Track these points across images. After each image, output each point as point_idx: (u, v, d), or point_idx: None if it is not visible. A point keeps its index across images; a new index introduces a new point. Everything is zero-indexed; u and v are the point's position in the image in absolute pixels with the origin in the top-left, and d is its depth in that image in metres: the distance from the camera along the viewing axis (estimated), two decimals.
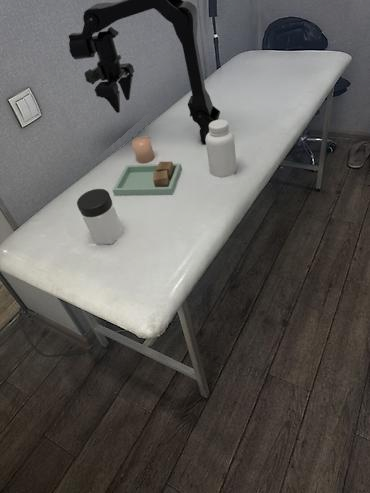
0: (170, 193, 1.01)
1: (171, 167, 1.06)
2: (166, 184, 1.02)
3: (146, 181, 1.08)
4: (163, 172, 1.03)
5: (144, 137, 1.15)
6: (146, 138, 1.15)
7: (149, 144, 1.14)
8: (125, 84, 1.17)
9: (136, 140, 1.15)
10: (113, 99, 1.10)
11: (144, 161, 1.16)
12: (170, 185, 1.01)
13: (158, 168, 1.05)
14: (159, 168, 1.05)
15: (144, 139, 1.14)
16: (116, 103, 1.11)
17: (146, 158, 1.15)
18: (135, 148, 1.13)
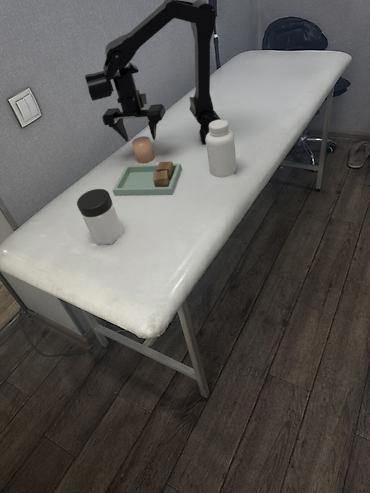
0: (170, 193, 1.01)
1: (171, 167, 1.06)
2: (166, 184, 1.02)
3: (146, 181, 1.08)
4: (163, 172, 1.03)
5: (144, 137, 1.15)
6: (146, 138, 1.15)
7: (149, 144, 1.14)
8: None
9: (136, 140, 1.15)
10: None
11: (144, 161, 1.16)
12: (170, 185, 1.01)
13: (158, 168, 1.05)
14: (159, 168, 1.05)
15: (144, 139, 1.14)
16: None
17: (146, 158, 1.15)
18: (135, 148, 1.13)
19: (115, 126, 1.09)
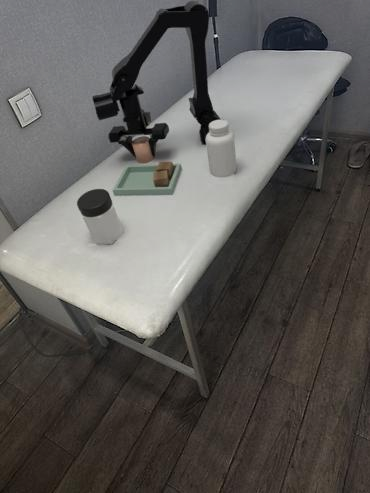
0: (170, 193, 1.01)
1: (171, 167, 1.06)
2: (166, 184, 1.02)
3: (146, 181, 1.08)
4: (163, 172, 1.03)
5: (144, 137, 1.15)
6: (146, 138, 1.15)
7: None
8: None
9: (136, 140, 1.15)
10: None
11: (144, 161, 1.16)
12: (170, 185, 1.01)
13: (158, 168, 1.05)
14: (159, 168, 1.05)
15: (144, 139, 1.14)
16: None
17: (146, 158, 1.15)
18: (135, 148, 1.13)
19: (125, 143, 1.13)
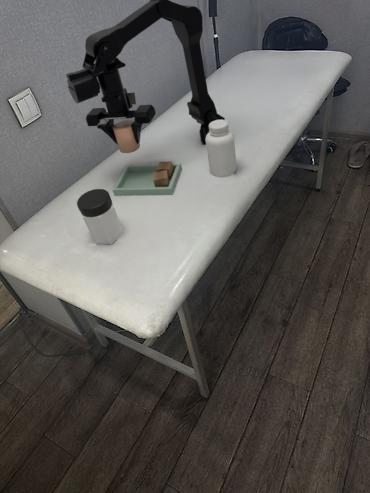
0: (170, 193, 1.01)
1: (171, 167, 1.06)
2: (166, 184, 1.02)
3: (146, 181, 1.08)
4: (163, 172, 1.03)
5: (128, 121, 1.01)
6: (129, 122, 1.00)
7: None
8: None
9: (118, 125, 1.00)
10: None
11: (127, 149, 1.01)
12: (170, 185, 1.01)
13: (158, 168, 1.05)
14: (159, 168, 1.05)
15: (128, 123, 1.00)
16: None
17: (129, 145, 1.01)
18: (116, 133, 0.99)
19: (104, 127, 0.98)
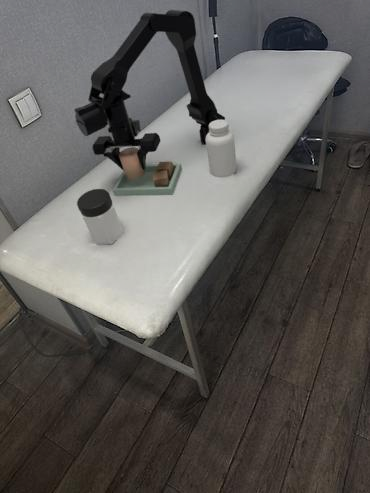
0: (170, 193, 1.01)
1: (171, 167, 1.06)
2: (166, 184, 1.02)
3: (146, 181, 1.08)
4: (163, 172, 1.03)
5: (133, 148, 1.03)
6: (135, 149, 1.03)
7: None
8: None
9: (124, 152, 1.03)
10: None
11: (133, 175, 1.04)
12: (170, 185, 1.01)
13: (158, 168, 1.05)
14: (159, 168, 1.05)
15: (133, 150, 1.02)
16: None
17: (135, 172, 1.03)
18: (122, 161, 1.01)
19: (111, 156, 1.00)
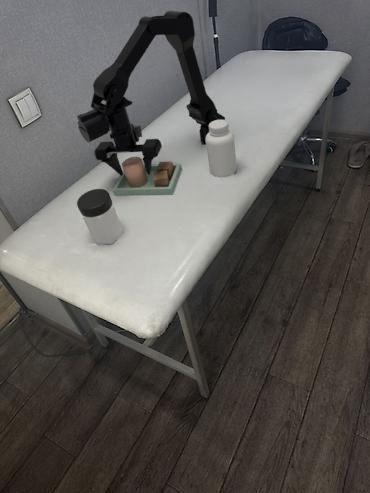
0: (170, 193, 1.01)
1: (171, 167, 1.06)
2: (166, 184, 1.02)
3: None
4: (163, 172, 1.03)
5: (136, 158, 1.05)
6: (138, 159, 1.05)
7: (141, 166, 1.04)
8: None
9: (127, 161, 1.05)
10: None
11: (136, 184, 1.06)
12: (170, 185, 1.01)
13: (158, 168, 1.05)
14: (159, 168, 1.05)
15: (136, 160, 1.05)
16: None
17: (138, 181, 1.05)
18: (126, 170, 1.03)
19: (108, 161, 1.02)
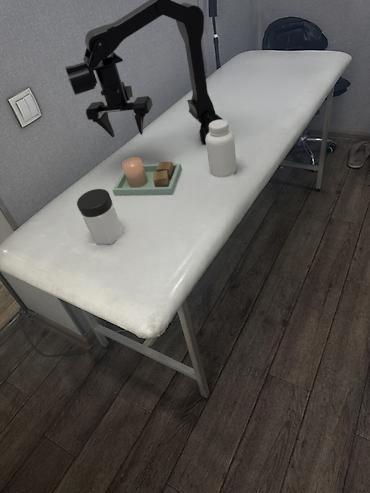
0: (170, 193, 1.01)
1: (171, 167, 1.06)
2: (166, 184, 1.02)
3: None
4: (163, 172, 1.03)
5: (136, 158, 1.05)
6: (138, 159, 1.05)
7: (141, 166, 1.04)
8: None
9: (127, 161, 1.05)
10: None
11: (136, 184, 1.06)
12: (170, 185, 1.01)
13: (158, 168, 1.05)
14: (159, 168, 1.05)
15: (136, 160, 1.04)
16: None
17: (138, 181, 1.05)
18: (125, 170, 1.03)
19: (99, 121, 1.03)
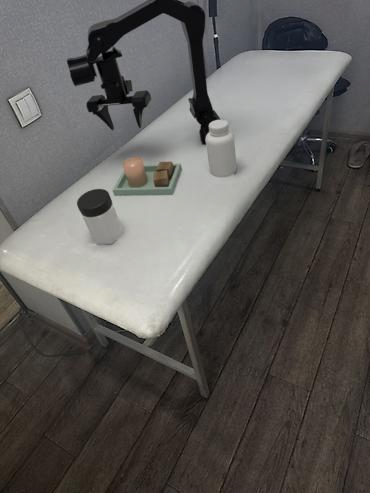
0: (170, 193, 1.01)
1: (171, 167, 1.06)
2: (166, 184, 1.02)
3: None
4: (163, 172, 1.03)
5: (136, 158, 1.05)
6: (138, 159, 1.05)
7: (141, 165, 1.04)
8: None
9: (127, 161, 1.05)
10: None
11: (136, 184, 1.06)
12: (170, 185, 1.01)
13: (158, 168, 1.05)
14: (159, 168, 1.05)
15: (136, 160, 1.05)
16: None
17: (138, 181, 1.05)
18: (126, 170, 1.03)
19: (99, 113, 1.06)
